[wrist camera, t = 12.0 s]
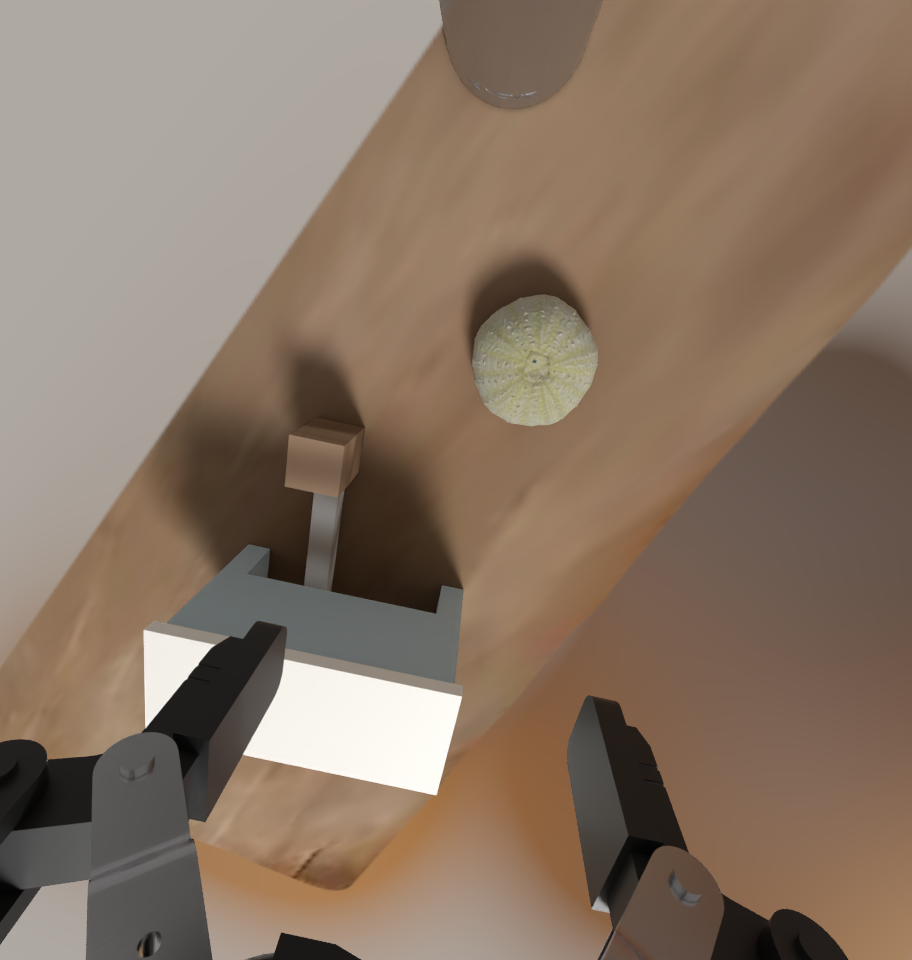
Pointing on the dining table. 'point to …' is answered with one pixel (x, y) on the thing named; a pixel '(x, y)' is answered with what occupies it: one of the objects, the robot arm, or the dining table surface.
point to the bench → (327, 673)
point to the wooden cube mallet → (323, 486)
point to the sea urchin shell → (534, 360)
